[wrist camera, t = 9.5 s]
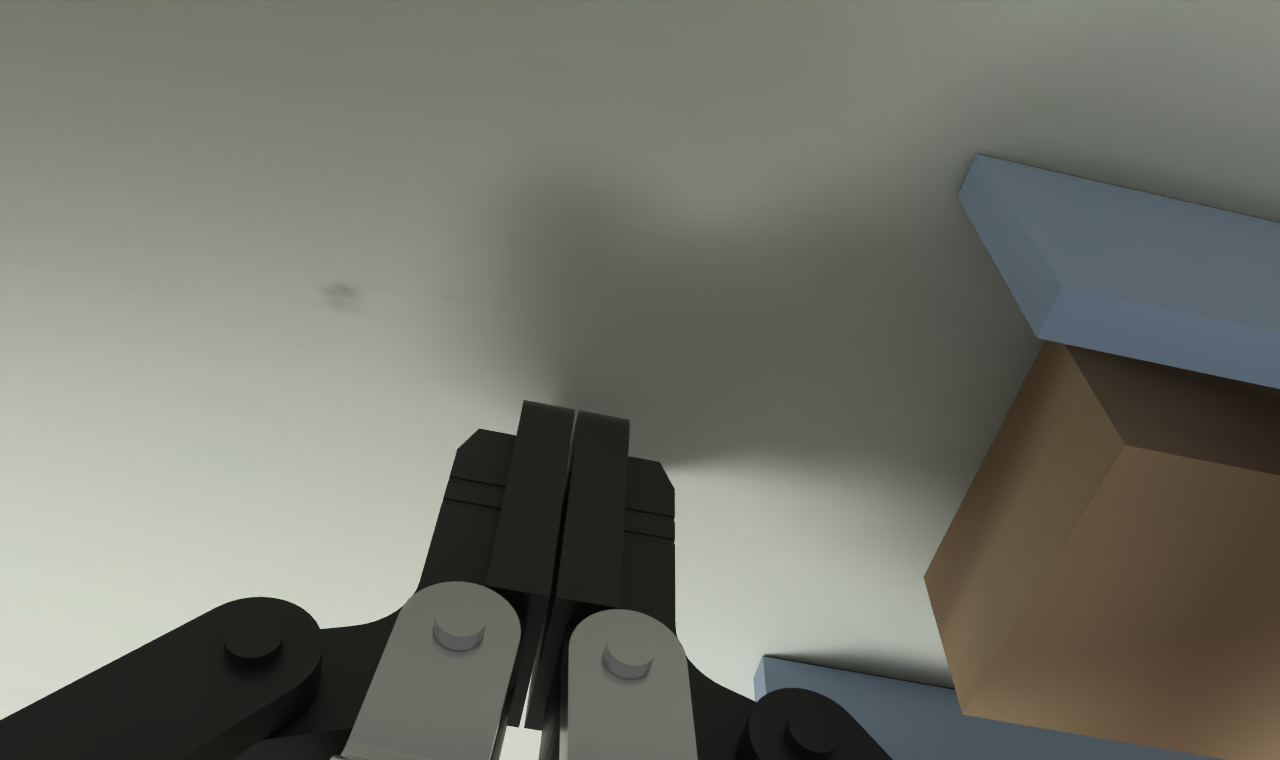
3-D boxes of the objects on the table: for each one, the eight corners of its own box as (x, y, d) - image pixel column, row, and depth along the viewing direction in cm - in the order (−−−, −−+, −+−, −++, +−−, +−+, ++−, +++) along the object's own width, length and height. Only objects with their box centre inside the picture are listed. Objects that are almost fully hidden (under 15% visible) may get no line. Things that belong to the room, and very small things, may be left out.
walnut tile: (921, 567, 17) (962, 714, 15) (1048, 317, 14) (1125, 444, 12) (1196, 618, 18) (1282, 769, 15) (1369, 384, 15) (1508, 521, 12)
